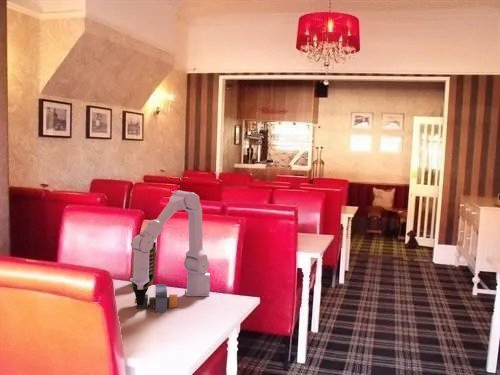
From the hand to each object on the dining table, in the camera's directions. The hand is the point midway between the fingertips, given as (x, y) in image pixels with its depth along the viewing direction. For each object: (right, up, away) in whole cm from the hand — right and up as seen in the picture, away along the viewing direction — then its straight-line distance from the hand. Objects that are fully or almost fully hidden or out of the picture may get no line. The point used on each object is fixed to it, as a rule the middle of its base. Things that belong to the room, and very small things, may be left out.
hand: (140, 302), depth 181 cm
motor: (-6, +1, +29) cm, 30 cm away
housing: (+7, -2, +2) cm, 8 cm away
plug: (+6, -2, +1) cm, 6 cm away
